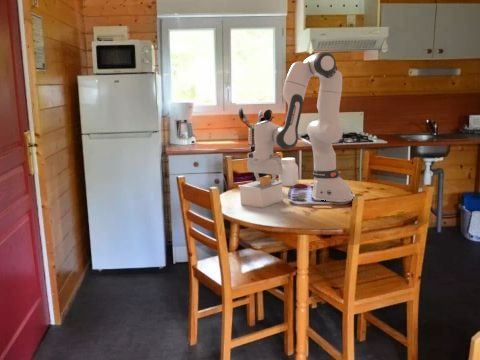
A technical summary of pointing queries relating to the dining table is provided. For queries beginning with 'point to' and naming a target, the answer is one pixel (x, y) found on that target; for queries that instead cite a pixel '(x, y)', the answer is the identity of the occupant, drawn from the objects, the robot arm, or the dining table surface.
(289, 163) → the jar
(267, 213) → the dining table surface
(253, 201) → the carton
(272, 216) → the dining table surface
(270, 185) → the lid
